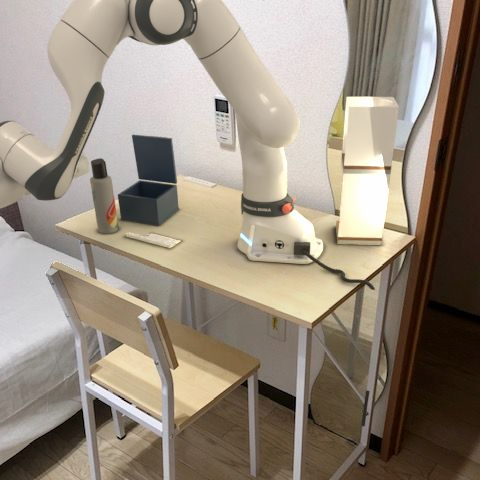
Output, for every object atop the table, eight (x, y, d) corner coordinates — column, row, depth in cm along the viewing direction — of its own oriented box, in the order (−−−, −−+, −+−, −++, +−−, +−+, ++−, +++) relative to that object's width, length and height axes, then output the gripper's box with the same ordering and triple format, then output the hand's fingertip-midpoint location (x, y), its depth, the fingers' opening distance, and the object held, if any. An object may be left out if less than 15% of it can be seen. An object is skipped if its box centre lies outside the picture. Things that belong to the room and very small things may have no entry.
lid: (170, 139, 163) (178, 133, 166) (131, 135, 167) (140, 129, 170) (176, 183, 171) (183, 177, 174) (138, 179, 175) (146, 172, 178)
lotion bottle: (122, 228, 165) (113, 158, 154) (109, 235, 161) (98, 164, 150) (108, 224, 167) (97, 155, 156) (94, 231, 163) (82, 161, 152)
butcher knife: (138, 230, 163) (137, 226, 163) (181, 241, 157) (180, 237, 156) (126, 236, 160) (125, 232, 159) (169, 248, 153) (169, 244, 153)
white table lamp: (377, 228, 162) (393, 96, 143) (381, 245, 153) (399, 107, 134) (335, 227, 163) (346, 96, 144) (337, 243, 154) (349, 107, 135)
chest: (159, 225, 166) (156, 199, 162) (121, 220, 170) (117, 194, 166) (178, 209, 176) (176, 184, 171) (142, 204, 180) (139, 180, 175)
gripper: (66, 162, 125) (101, 144, 136) (-10, 152, 132) (29, 136, 142) (71, 190, 129) (105, 170, 139) (-3, 179, 135) (35, 161, 146)
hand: (66, 153), depth 141 cm, fingers open, 8 cm apart
